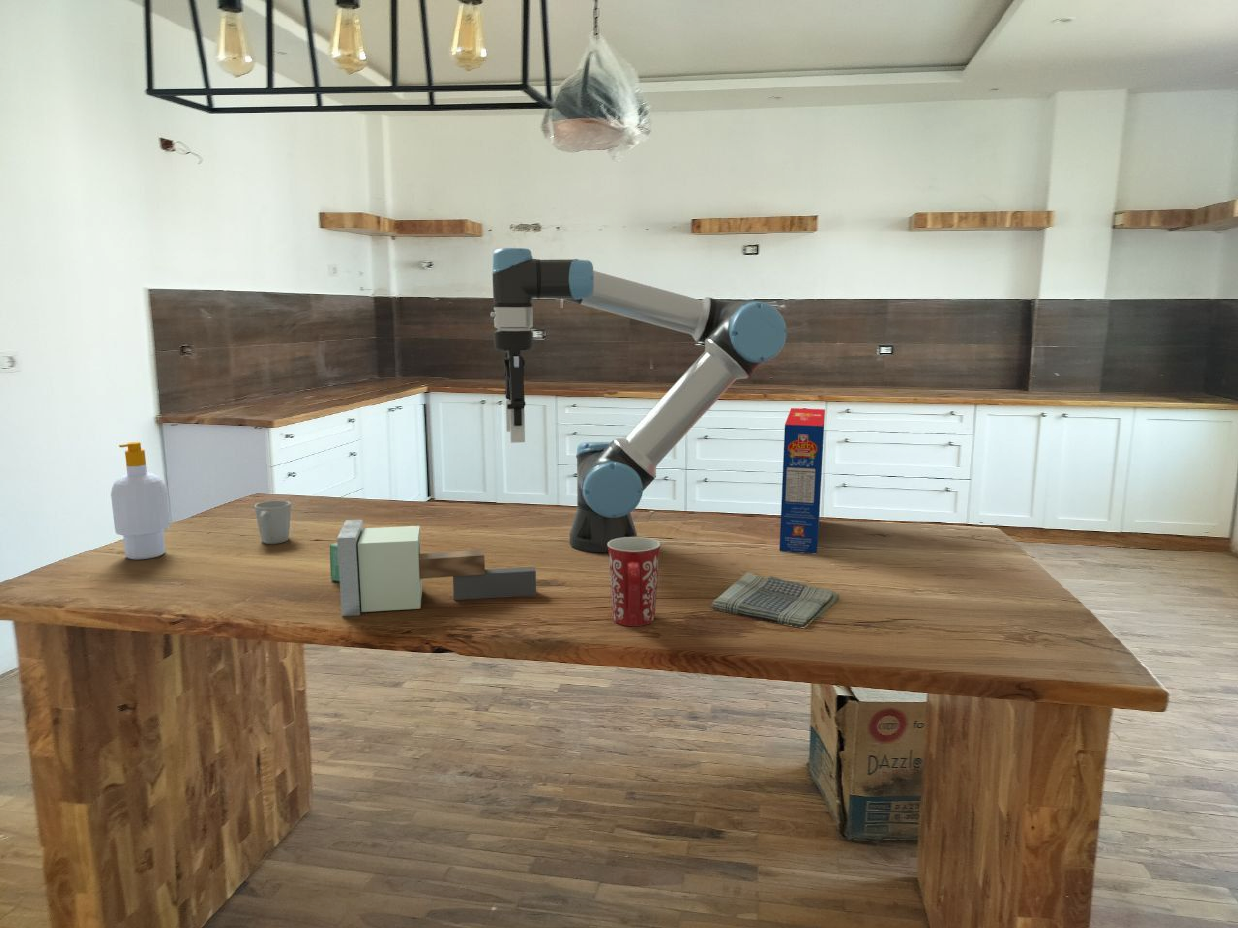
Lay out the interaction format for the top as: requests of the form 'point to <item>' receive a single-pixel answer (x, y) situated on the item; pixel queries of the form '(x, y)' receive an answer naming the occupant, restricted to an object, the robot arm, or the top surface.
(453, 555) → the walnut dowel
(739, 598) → the dish towel
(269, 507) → the cup
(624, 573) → the mug
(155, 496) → the soap bottle
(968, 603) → the top surface
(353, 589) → the grey base plate
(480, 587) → the rubber rail
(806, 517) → the pasta box
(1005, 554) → the top surface
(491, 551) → the top surface
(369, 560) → the block
